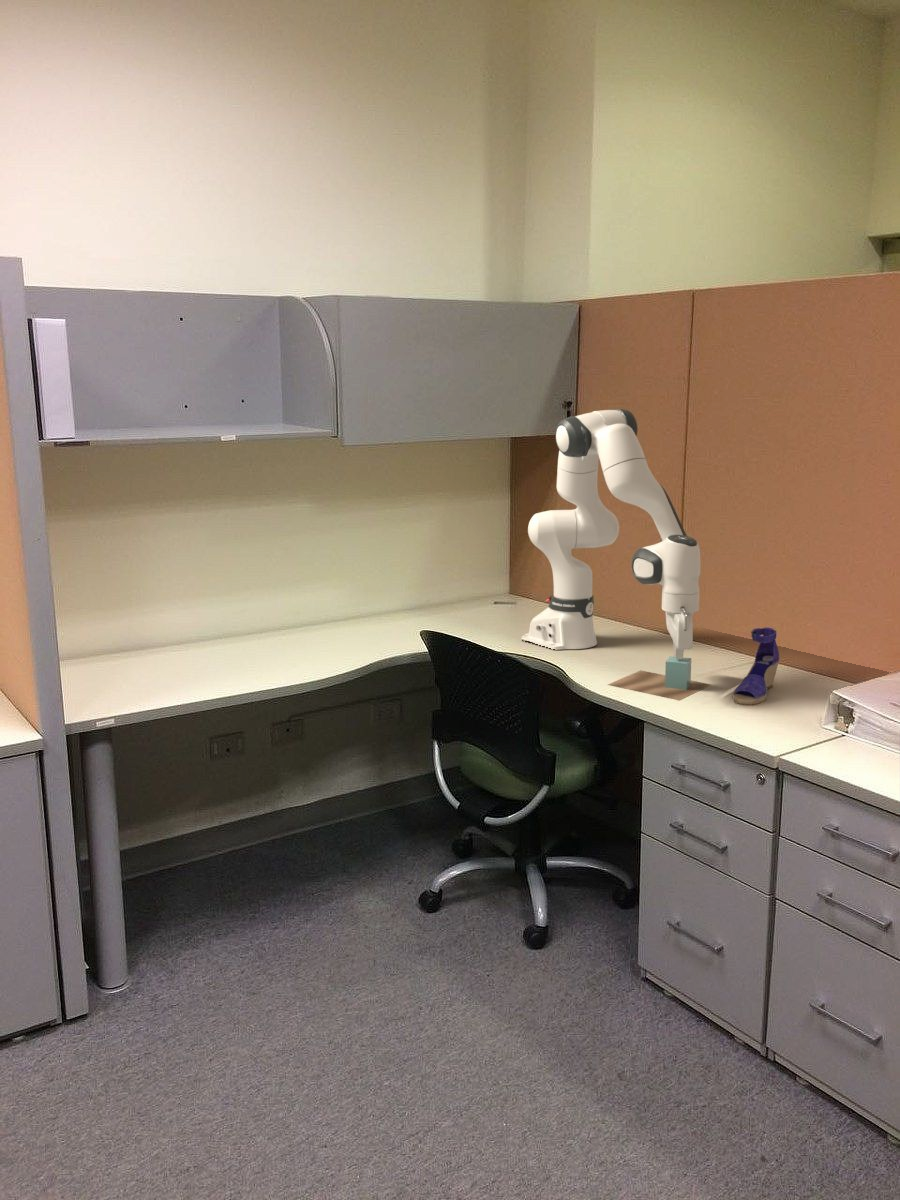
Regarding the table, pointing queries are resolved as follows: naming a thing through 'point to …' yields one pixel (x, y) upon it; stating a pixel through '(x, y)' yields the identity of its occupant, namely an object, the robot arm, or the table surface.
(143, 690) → the table surface
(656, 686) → the board
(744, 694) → the sandal
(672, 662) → the teal rectangular block
